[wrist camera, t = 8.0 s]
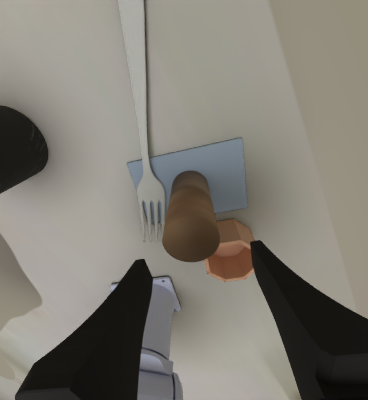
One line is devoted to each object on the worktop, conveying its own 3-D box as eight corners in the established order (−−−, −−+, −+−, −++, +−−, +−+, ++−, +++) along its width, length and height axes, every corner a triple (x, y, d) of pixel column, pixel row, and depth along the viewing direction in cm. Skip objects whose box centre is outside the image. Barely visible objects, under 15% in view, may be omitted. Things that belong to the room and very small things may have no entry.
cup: (206, 259, 27) (209, 283, 23) (198, 224, 24) (200, 246, 20) (251, 253, 26) (260, 277, 22) (248, 216, 23) (258, 237, 20)
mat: (150, 223, 24) (149, 224, 24) (127, 162, 20) (126, 163, 20) (246, 205, 23) (247, 207, 22) (241, 137, 19) (241, 138, 19)
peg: (178, 206, 22) (172, 266, 14) (167, 175, 21) (154, 224, 13) (211, 198, 22) (224, 256, 14) (203, 166, 20) (213, 210, 12)
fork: (149, -53, 13) (143, -74, 11) (168, 233, 24) (166, 242, 23) (102, -51, 13) (91, -71, 11) (143, 233, 24) (140, 242, 23)
